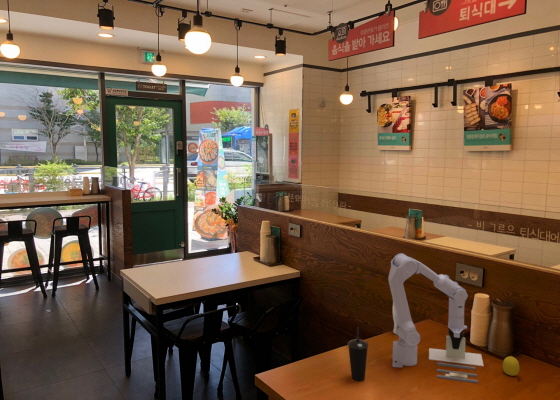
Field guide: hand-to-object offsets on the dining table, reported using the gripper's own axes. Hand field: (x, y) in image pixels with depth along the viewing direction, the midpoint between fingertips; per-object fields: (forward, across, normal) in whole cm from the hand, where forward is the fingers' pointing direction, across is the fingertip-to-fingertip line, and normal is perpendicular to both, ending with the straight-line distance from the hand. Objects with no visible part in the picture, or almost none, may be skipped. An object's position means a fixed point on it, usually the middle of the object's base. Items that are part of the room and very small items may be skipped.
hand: (455, 347), depth 182 cm
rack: (+5, -13, 0) cm, 14 cm away
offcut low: (+5, -16, +1) cm, 17 cm away
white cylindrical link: (+6, +21, +23) cm, 32 cm away
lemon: (+6, -8, -19) cm, 21 cm away
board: (+5, 0, 0) cm, 5 cm away
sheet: (+4, 0, 0) cm, 4 cm away
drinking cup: (+6, -25, +35) cm, 43 cm away
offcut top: (+4, -16, 0) cm, 17 cm away
